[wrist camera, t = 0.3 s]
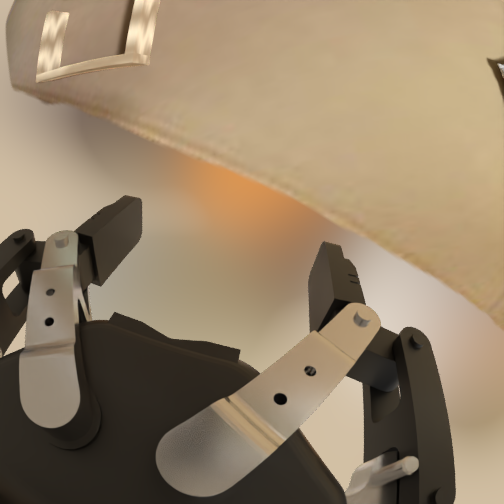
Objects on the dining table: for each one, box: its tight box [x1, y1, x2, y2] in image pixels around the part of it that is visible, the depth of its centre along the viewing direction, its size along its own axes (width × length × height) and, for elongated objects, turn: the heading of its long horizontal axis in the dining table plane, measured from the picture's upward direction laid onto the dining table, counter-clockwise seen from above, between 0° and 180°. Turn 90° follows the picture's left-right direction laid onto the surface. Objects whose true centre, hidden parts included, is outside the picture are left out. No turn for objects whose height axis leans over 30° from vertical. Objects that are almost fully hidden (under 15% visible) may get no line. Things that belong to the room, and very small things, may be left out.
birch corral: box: [36, 0, 161, 83], centre depth 25 cm, size 14×22×5 cm, turn 82°
